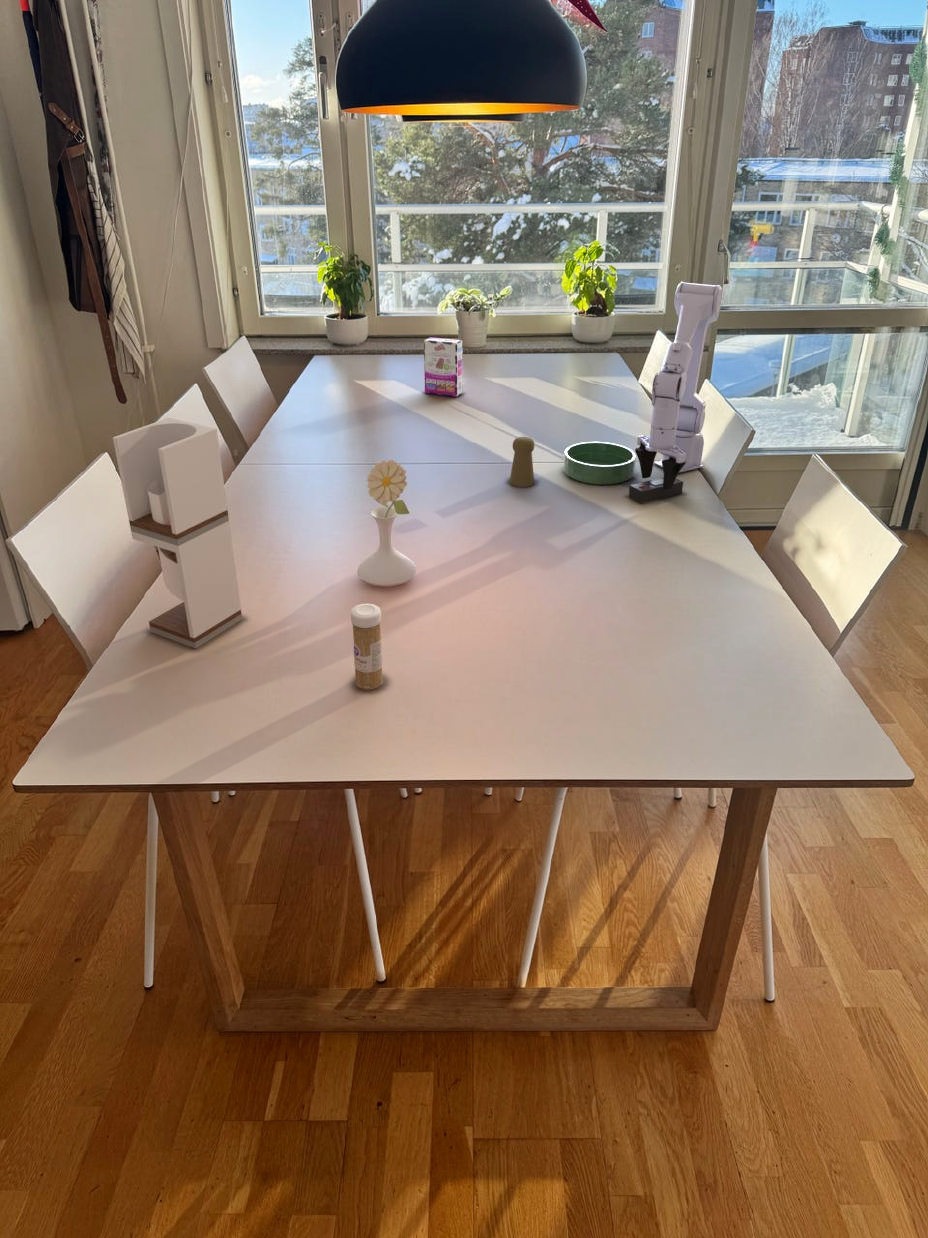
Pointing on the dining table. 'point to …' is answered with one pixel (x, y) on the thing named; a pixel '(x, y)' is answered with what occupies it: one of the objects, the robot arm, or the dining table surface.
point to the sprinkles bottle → (367, 646)
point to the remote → (653, 490)
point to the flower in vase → (386, 528)
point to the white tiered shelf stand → (182, 524)
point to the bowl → (599, 463)
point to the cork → (522, 462)
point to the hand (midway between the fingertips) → (656, 482)
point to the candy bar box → (443, 366)
